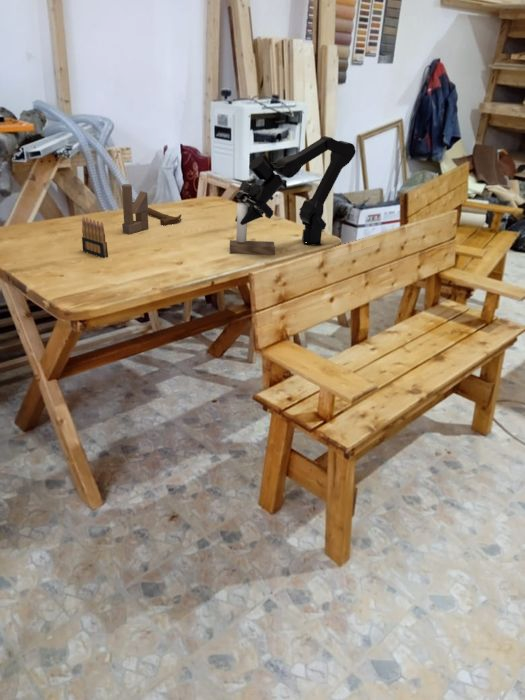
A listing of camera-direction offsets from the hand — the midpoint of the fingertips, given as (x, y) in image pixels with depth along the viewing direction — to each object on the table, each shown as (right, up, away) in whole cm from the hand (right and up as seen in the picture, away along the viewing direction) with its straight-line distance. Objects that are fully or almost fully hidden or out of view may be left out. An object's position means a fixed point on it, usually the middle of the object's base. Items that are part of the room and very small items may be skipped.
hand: (238, 222), depth 197 cm
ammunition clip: (-49, -12, -6) cm, 51 cm away
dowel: (+1, -6, +4) cm, 7 cm away
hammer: (-37, +12, +42) cm, 57 cm away
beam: (+5, -9, +6) cm, 12 cm away
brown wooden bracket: (-41, +1, +20) cm, 46 cm away
